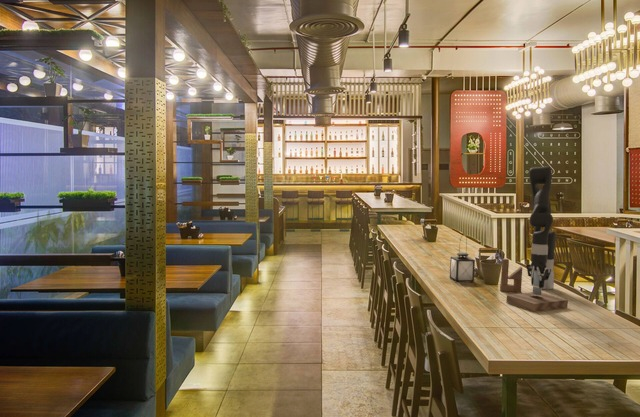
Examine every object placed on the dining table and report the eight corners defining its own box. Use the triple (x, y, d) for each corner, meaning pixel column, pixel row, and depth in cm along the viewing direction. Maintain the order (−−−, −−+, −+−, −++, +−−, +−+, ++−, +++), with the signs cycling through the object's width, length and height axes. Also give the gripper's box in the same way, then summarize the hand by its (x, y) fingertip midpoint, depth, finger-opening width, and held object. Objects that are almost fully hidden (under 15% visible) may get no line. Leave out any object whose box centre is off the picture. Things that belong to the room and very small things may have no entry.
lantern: (466, 277, 313) (468, 233, 311) (474, 281, 302) (476, 235, 300) (449, 277, 312) (451, 233, 310) (456, 281, 301) (458, 235, 299)
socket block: (538, 298, 264) (539, 291, 263) (567, 307, 247) (568, 299, 247) (506, 302, 255) (506, 294, 255) (534, 312, 239) (534, 303, 238)
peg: (536, 292, 253) (538, 269, 252) (543, 294, 250) (544, 270, 249) (530, 293, 252) (531, 269, 251) (537, 295, 248) (538, 271, 247)
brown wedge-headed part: (521, 292, 277) (522, 260, 275) (500, 291, 279) (502, 259, 277) (519, 291, 280) (521, 259, 279) (499, 289, 282) (501, 258, 281)
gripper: (556, 254, 244) (554, 289, 245) (533, 250, 257) (531, 283, 258) (545, 255, 241) (543, 290, 242) (522, 250, 254) (520, 284, 255)
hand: (537, 286), depth 250 cm, fingers closed on peg, 4 cm apart
